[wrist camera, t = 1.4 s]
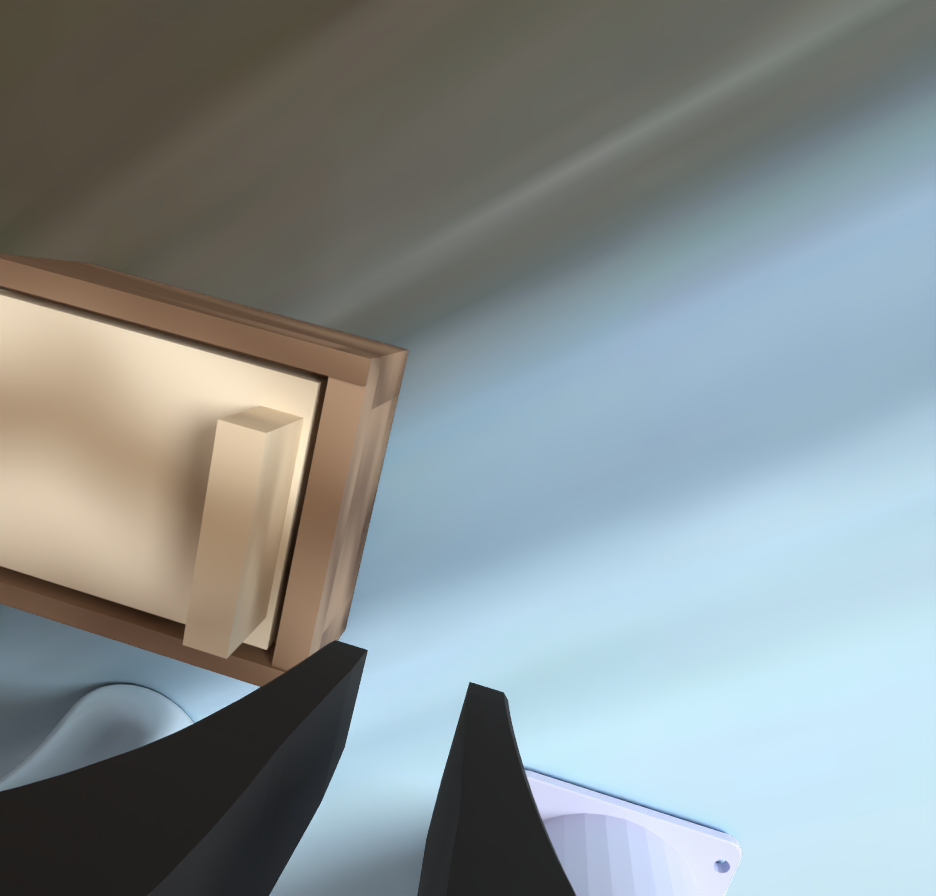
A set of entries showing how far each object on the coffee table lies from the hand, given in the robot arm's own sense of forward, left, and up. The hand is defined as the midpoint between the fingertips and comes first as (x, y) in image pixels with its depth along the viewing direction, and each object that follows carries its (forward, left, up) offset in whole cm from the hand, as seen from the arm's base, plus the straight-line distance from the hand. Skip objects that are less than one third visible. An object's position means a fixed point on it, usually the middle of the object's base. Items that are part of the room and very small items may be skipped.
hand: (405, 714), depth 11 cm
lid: (0, +10, -7) cm, 12 cm away
